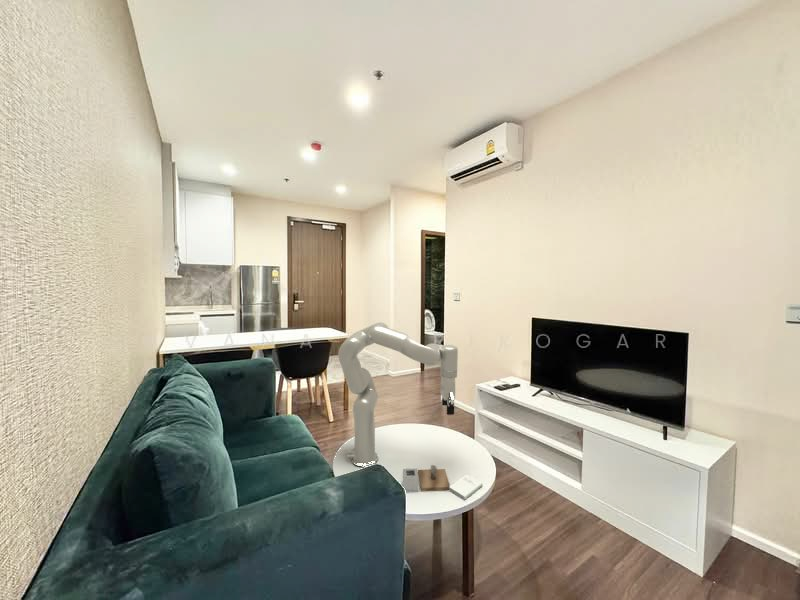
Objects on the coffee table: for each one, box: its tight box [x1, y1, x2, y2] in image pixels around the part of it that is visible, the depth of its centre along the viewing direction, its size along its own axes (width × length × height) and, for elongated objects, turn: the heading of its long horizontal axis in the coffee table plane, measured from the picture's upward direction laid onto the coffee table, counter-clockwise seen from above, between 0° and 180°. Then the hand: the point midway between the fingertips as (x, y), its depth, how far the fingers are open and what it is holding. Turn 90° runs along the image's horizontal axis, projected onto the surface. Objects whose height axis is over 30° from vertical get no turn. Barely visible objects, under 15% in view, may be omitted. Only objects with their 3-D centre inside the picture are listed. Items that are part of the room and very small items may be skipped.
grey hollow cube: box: [402, 467, 420, 493], centre depth 135 cm, size 6×6×6 cm
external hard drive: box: [448, 473, 483, 501], centre depth 134 cm, size 2×8×12 cm
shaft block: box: [417, 464, 451, 492], centre depth 138 cm, size 12×12×6 cm
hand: (447, 409), depth 147 cm, fingers open, 9 cm apart
